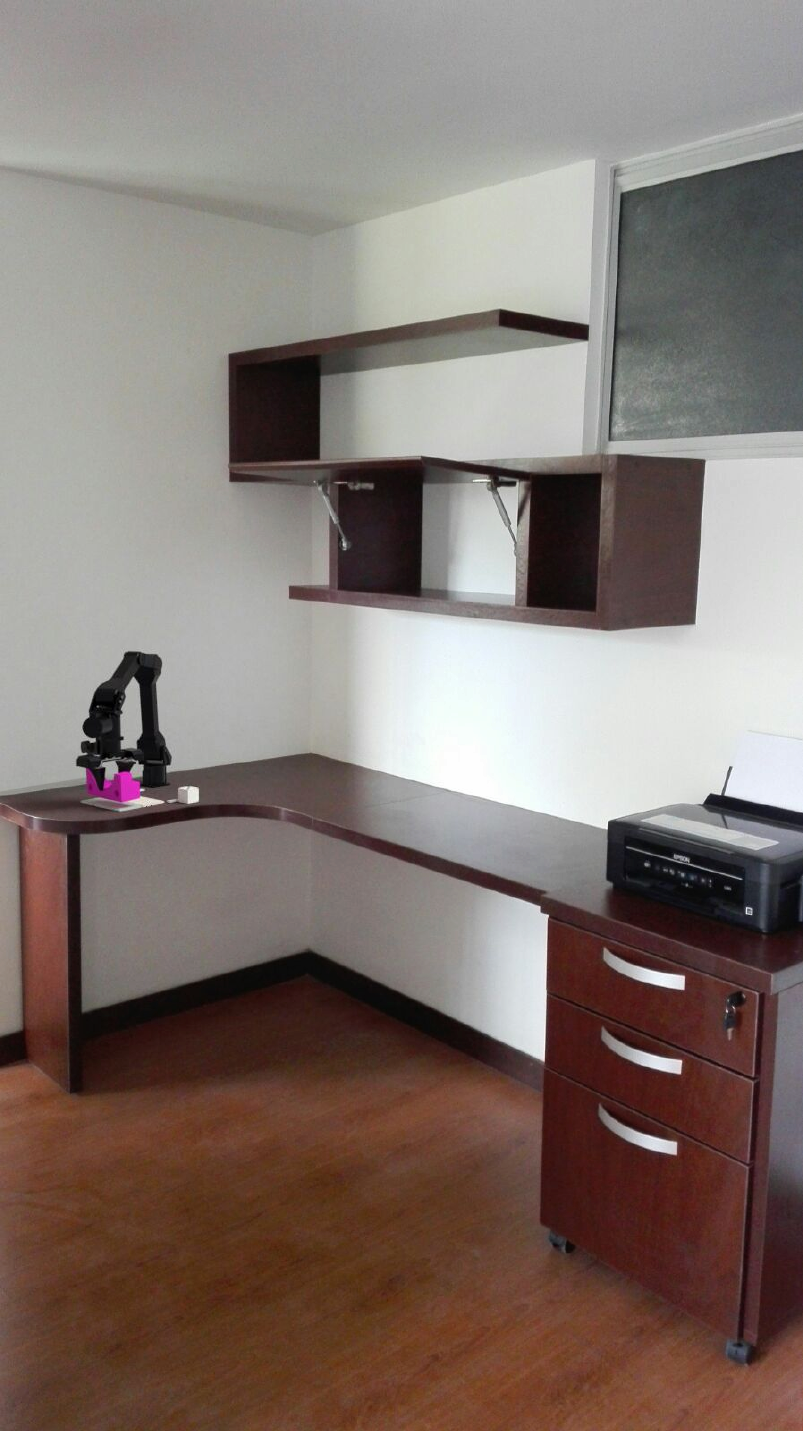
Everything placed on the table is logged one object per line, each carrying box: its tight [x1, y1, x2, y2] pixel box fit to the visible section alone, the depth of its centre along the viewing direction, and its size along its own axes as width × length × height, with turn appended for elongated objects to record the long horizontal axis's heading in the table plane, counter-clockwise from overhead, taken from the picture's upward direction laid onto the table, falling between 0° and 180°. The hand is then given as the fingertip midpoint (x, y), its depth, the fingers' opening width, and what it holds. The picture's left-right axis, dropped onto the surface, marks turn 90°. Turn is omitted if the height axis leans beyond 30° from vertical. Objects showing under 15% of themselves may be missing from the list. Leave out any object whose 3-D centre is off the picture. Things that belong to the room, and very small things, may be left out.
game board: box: [80, 788, 178, 813], centre depth 331 cm, size 22×19×1 cm
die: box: [177, 785, 200, 805], centre depth 331 cm, size 4×4×4 cm
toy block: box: [85, 768, 141, 803], centre depth 324 cm, size 15×6×8 cm, turn 51°
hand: (111, 788), depth 324 cm, fingers closed on toy block, 6 cm apart
